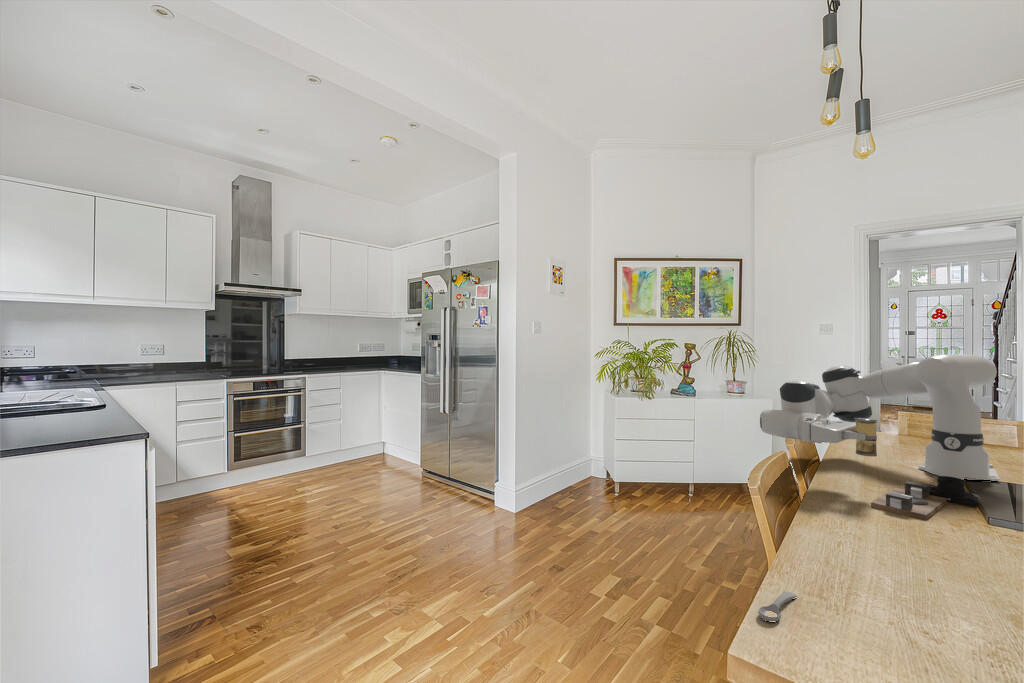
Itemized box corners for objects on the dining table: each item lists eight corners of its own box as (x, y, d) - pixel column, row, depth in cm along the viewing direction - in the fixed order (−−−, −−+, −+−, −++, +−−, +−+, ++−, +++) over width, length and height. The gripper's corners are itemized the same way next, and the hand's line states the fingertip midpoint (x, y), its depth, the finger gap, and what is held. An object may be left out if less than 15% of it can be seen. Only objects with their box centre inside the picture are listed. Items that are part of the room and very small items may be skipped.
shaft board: (895, 492, 130) (894, 478, 130) (947, 502, 121) (947, 488, 121) (870, 506, 118) (870, 491, 119) (926, 520, 110) (926, 503, 110)
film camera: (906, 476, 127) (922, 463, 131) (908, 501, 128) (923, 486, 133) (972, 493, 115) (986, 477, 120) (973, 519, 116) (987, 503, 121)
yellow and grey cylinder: (859, 451, 132) (858, 417, 132) (879, 454, 128) (879, 419, 129) (853, 453, 130) (852, 419, 130) (873, 457, 126) (873, 421, 126)
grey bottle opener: (754, 620, 71) (754, 607, 71) (782, 597, 79) (782, 585, 79) (775, 629, 69) (775, 615, 69) (801, 605, 76) (801, 592, 77)
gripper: (828, 434, 146) (882, 441, 134) (800, 442, 134) (857, 451, 122) (828, 414, 146) (882, 420, 134) (800, 421, 134) (856, 428, 122)
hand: (869, 435), depth 128 cm, fingers closed on yellow and grey cylinder, 5 cm apart
